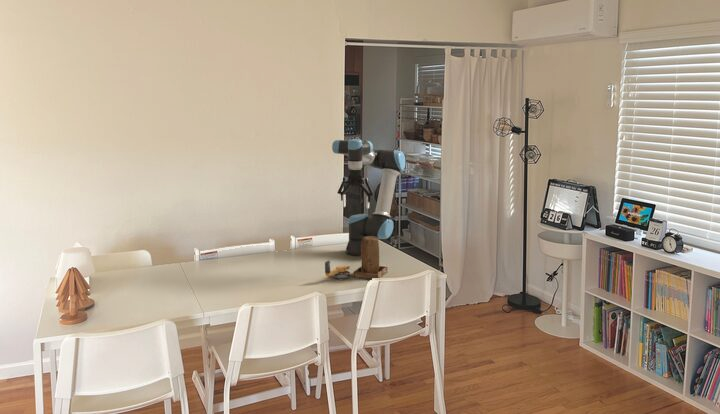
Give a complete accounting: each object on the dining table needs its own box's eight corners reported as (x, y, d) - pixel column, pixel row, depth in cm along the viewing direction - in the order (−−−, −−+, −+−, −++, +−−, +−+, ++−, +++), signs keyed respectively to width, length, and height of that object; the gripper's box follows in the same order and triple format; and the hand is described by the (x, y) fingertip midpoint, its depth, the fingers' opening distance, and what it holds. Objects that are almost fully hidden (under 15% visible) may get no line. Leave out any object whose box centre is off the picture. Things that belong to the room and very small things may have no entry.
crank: (344, 267, 333) (344, 254, 331) (351, 269, 330) (351, 255, 328) (322, 275, 320) (322, 261, 318) (329, 277, 317) (329, 262, 315)
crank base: (335, 272, 334) (335, 267, 333) (353, 275, 330) (353, 269, 330) (328, 278, 325) (328, 273, 324) (345, 280, 321) (345, 275, 320)
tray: (364, 269, 340) (364, 264, 339) (387, 272, 335) (387, 266, 334) (353, 277, 326) (353, 271, 326) (377, 280, 321) (377, 274, 321)
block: (380, 275, 327) (380, 238, 323) (367, 277, 324) (367, 240, 320) (371, 269, 337) (371, 234, 333) (359, 271, 334) (359, 235, 330)
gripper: (331, 168, 332) (332, 207, 336) (375, 170, 324) (375, 210, 328) (336, 166, 339) (337, 204, 343) (379, 168, 331) (380, 207, 335)
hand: (356, 207), depth 336 cm, fingers open, 13 cm apart
